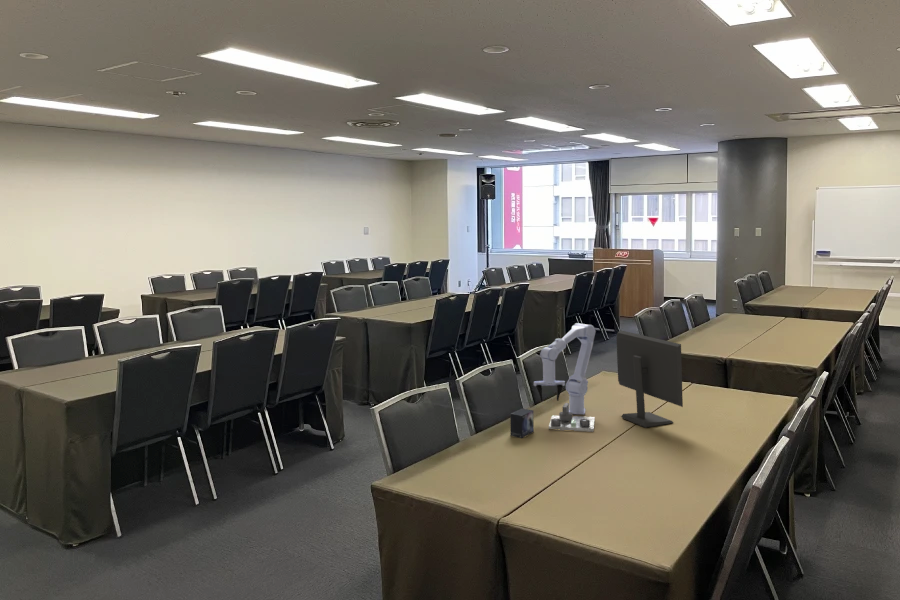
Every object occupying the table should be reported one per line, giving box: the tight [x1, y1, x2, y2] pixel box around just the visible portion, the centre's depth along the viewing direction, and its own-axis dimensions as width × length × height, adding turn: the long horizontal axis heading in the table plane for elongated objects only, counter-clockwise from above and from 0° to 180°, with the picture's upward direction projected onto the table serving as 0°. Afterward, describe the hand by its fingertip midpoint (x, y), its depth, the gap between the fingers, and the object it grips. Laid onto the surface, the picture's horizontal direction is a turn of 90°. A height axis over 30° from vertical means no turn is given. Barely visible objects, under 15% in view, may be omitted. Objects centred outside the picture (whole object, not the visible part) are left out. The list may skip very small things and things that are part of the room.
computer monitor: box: [616, 329, 684, 429], centre depth 313 cm, size 44×16×40 cm, turn 22°
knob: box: [558, 402, 573, 421], centre depth 317 cm, size 6×12×7 cm, turn 161°
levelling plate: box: [548, 414, 596, 433], centre depth 313 cm, size 18×20×4 cm
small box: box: [509, 407, 534, 439], centre depth 301 cm, size 11×6×10 cm, turn 143°
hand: (549, 400), depth 321 cm, fingers open, 7 cm apart
